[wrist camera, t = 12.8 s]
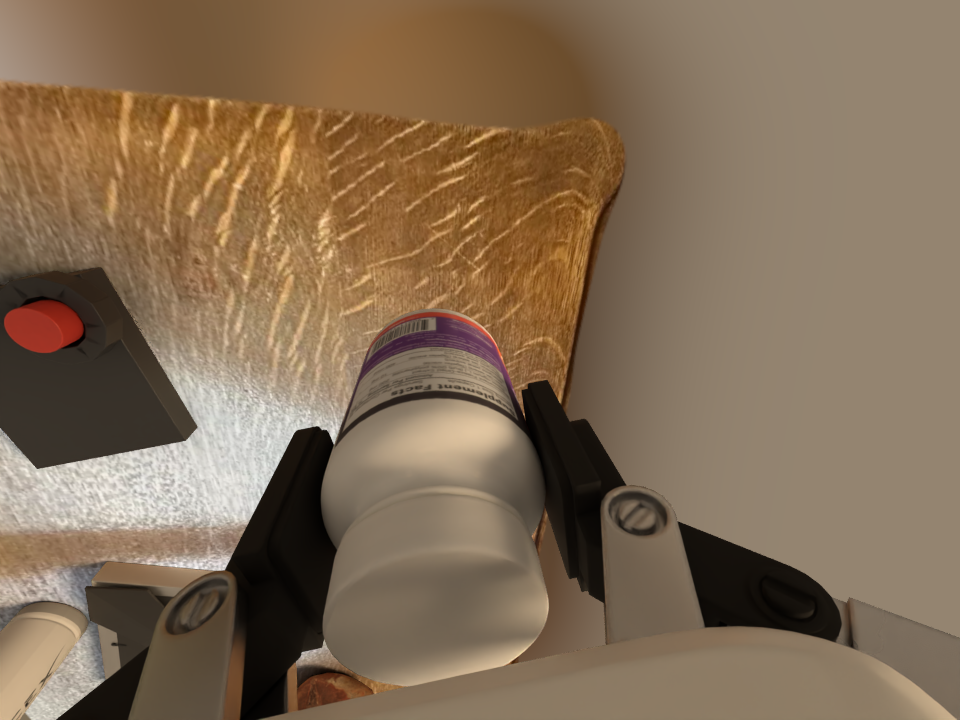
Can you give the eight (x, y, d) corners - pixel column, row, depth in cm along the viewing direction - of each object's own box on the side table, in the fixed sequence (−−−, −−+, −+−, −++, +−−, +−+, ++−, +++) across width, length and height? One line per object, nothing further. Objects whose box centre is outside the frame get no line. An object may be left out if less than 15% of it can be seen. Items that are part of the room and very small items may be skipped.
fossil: (257, 733, 50) (261, 810, 42) (259, 668, 50) (263, 732, 42) (357, 692, 57) (378, 751, 48) (359, 634, 57) (380, 683, 49)
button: (18, 303, 25) (-10, 313, 23) (66, 295, 25) (42, 304, 23) (49, 346, 26) (25, 357, 25) (94, 337, 26) (73, 348, 25)
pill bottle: (477, 436, 17) (523, 712, 9) (353, 410, 16) (257, 703, 7) (522, 326, 15) (644, 545, 6) (382, 285, 14) (298, 491, 5)
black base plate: (-80, 291, 27) (-148, 308, 24) (111, 258, 27) (70, 270, 24) (56, 453, 33) (18, 483, 30) (209, 424, 34) (186, 451, 31)
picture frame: (106, 561, 39) (120, 674, 47) (84, 588, 37) (102, 703, 45) (274, 576, 43) (259, 679, 51) (264, 601, 40) (250, 705, 49)
